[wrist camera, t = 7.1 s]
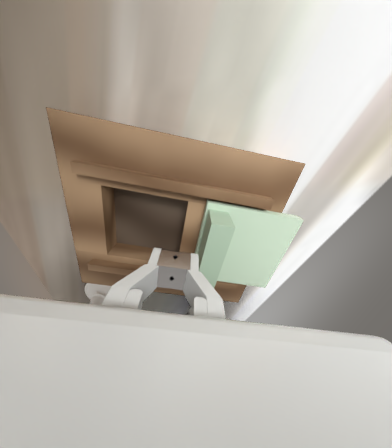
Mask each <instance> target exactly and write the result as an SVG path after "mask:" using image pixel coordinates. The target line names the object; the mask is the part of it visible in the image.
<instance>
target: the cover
mask: <svg viewBox="0 0 392 448" xmlns="http://www.w3.org/2000/svg"><path fill="white" fill-rule="evenodd" d="M303 221H304V220H303V219H301V218H300V217H299V216H295V215H289V214H284V213H279V212H273V211H268V210H263V209H257V208H252V207H246V206H241V205H236V204H230V203H225V202H220V201H214V200H209V199H207V202H206V206H205V210H204V215H203V219H202V223H201V228H200V232H199V236H198V240H197V245H196V249H195V254H198V259H199V272H201V273H202V274H203V275H204V276H205V278H206V279H207V280H208V281H209V283H210V284H211V285H212V286H213V288H214V287H215V284H216V282H217V281H222V282H229V283H236V284H243V285H250V286H257V287H264V288H265V287H266V286H267V284H268V282H269V280H270V279H271V277H272V275H273V273H274V272H275V270H276V268H277V266H278V265H279V263H280V261H281V259H282V258H283V256H284V254H285V252H286V251H287V249H288V247H289V245H290V244H291V242H292V240H293V238H294V237H295V235H296V233H297V231H298V230H299V228H300V226H301V224H302V223H303Z"/></svg>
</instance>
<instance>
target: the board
mask: <svg viewBox="0 0 392 448" xmlns="http://www.w3.org/2000/svg"><path fill="white" fill-rule="evenodd" d="M46 110H47V114H48V119H49V124H50V129H51V134H52V139H53V144H54V148H55V153H56V158H57V163H58V168H59V173H60V178H61V182H62V187H63V192H64V197H65V202H66V207H67V212H68V216H69V221H70V226H71V231H72V236H73V241H74V246H75V250H76V255H77V260H78V265H79V270H80V275H81V280H82V282H84V283H91V284H99V285H107V286H112V285H114V284H115V283H117V282H118V281H120V280H121V279H123V278H124V277H126V276H127V275H129V274H131V273H132V272H134V271H135V270H137V269H138V268H140V267H141V266H143V265H144V264H148V261H149V258H150V256H151V253H152V251H153V248H154V247H155V248H161V249H167V250H173V251H179V252H186V253H195V249H196V245H197V240H198V236H199V232H200V228H201V223H202V219H203V215H204V210H205V206H206V202H207V199H209V200H214V201H220V202H225V203H230V204H236V205H241V206H246V207H252V208H257V209H263V210H268V211H273V212H279V213H282V211H283V209H284V207H285V205H286V203H287V201H288V199H289V197H290V195H291V193H292V191H293V188H294V186H295V184H296V182H297V180H298V178H299V176H300V174H301V172H302V170H303V168H304V166H305V164H304V163H300V162H295V161H290V160H286V159H281V158H277V157H272V156H267V155H263V154H258V153H254V152H249V151H244V150H240V149H235V148H231V147H226V146H222V145H217V144H212V143H208V142H203V141H199V140H194V139H189V138H185V137H180V136H176V135H171V134H166V133H162V132H157V131H153V130H148V129H144V128H139V127H134V126H130V125H125V124H121V123H116V122H111V121H107V120H102V119H98V118H93V117H88V116H84V115H79V114H75V113H70V112H66V111H61V110H56V109H52V108H47V107H46ZM245 287H246V285H243V284H236V283H229V282H222V281H217V282H216V284H215V287H214V289H215V290H216V292H217V293H218V294H219V295H220V297H221V298H222V299H223V301H230V302H237V303H238V302H239V300H240V298H241V295H242V293H243V291H244V289H245ZM153 292H161V293H168V294H176V295H184V296H185V294H184V292H183V290H177V289H171V288H161V287H157V288H156V289H155V290H154V291H153Z"/></svg>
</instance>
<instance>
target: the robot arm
mask: <svg viewBox="0 0 392 448" xmlns="http://www.w3.org/2000/svg"><path fill="white" fill-rule="evenodd" d="M157 287H161V288H171V289H177V290H183V292H184V294H185V296H186V298H187V300H188V302H189V304H190V307H191V311H190V314H189V315H184V314H175V313H166V312H157V311H148V310H142V302H143V301H144V300H145V299H146V298H147V297H148V296H149V295H150V294H151V293H152V292H153V291H154V290H155V289H156V288H157ZM0 448H392V343H390V342H389V341H387V340H386V339H383V338H381V337H377V336H371V335H361V334H352V333H343V332H334V331H325V330H316V329H308V328H298V327H290V326H281V325H272V324H264V323H254V322H246V321H237V320H228V319H226V317H225V311H224V305H223V299H222V298H221V297H220V295H219V294H218V293H217V292H216V290H215V289H214V288H213V286H212V285H211V284H210V283H209V281H208V280H207V279H206V278H205V276H204V275H203V274H202V273H201V272H199V259H198V254H195V253H186V252H179V251H173V250H167V249H161V248H155V247H154V248H153V251H152V253H151V256H150V258H149V261H148V264H144V265H143V266H141V267H140V268H138V269H137V270H135V271H134V272H132V273H131V274H129V275H127V276H126V277H124V278H123V279H121V280H120V281H118V282H117V283H115V284H114V285H112V287H111V289H110V290H109V292H108V294H107V296H106V297H105V299H104V301H103V303H102V304H101V305H95V304H86V303H77V302H68V301H59V300H51V299H41V298H32V297H24V296H15V295H6V294H0Z"/></svg>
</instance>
